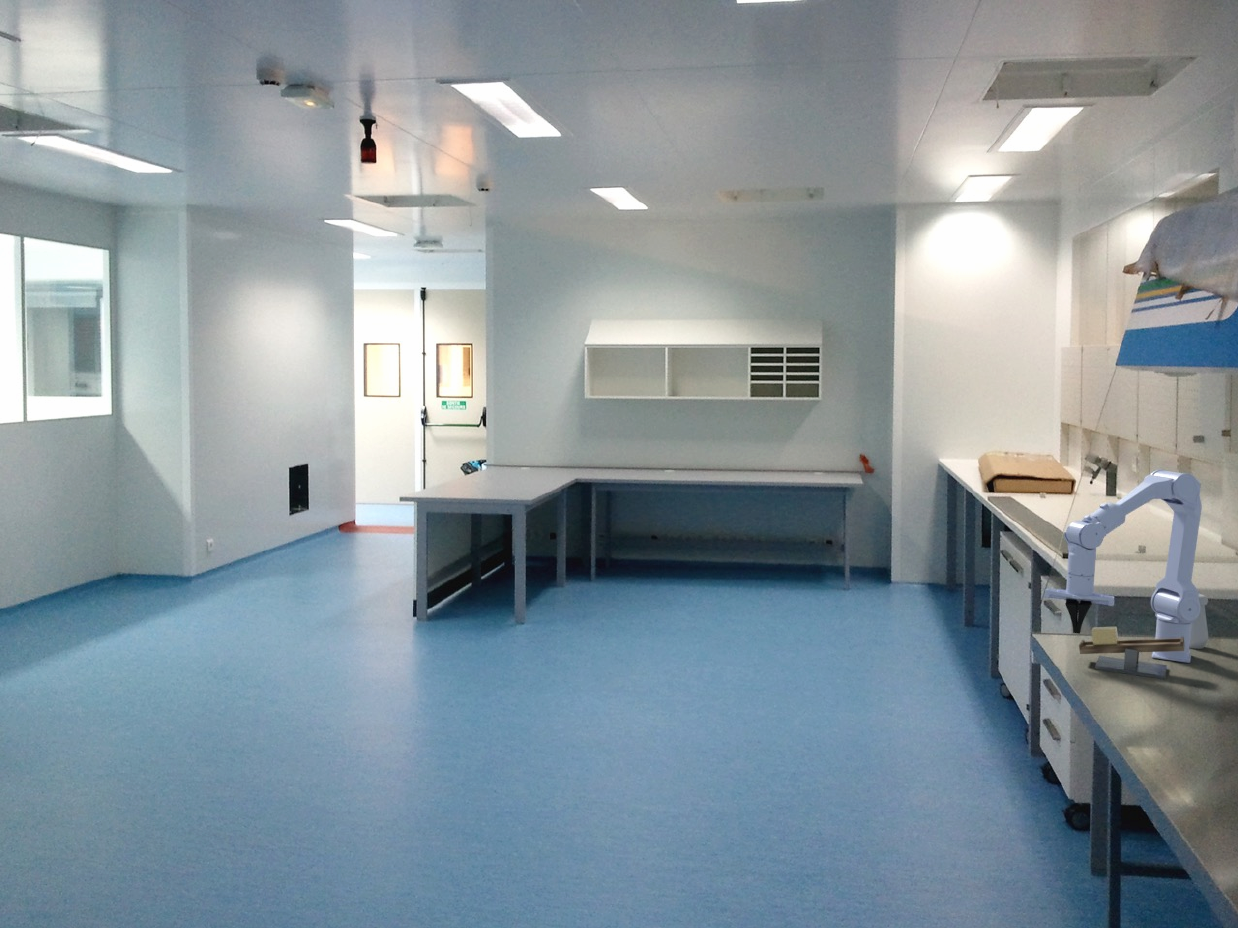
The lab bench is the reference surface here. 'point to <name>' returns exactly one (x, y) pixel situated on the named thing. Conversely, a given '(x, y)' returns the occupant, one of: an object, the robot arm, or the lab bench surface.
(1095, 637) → the block
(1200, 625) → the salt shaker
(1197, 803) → the lab bench surface
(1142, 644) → the beam
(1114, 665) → the pivot stand
